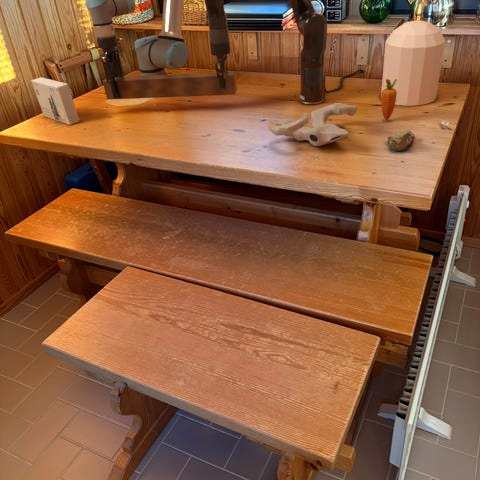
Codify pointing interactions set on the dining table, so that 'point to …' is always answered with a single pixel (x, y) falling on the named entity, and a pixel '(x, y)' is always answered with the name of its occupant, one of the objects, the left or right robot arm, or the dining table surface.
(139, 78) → the beam
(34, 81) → the skincare box
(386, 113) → the carrot
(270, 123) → the animal horns
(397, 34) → the container
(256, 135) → the dining table surface
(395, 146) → the rock
